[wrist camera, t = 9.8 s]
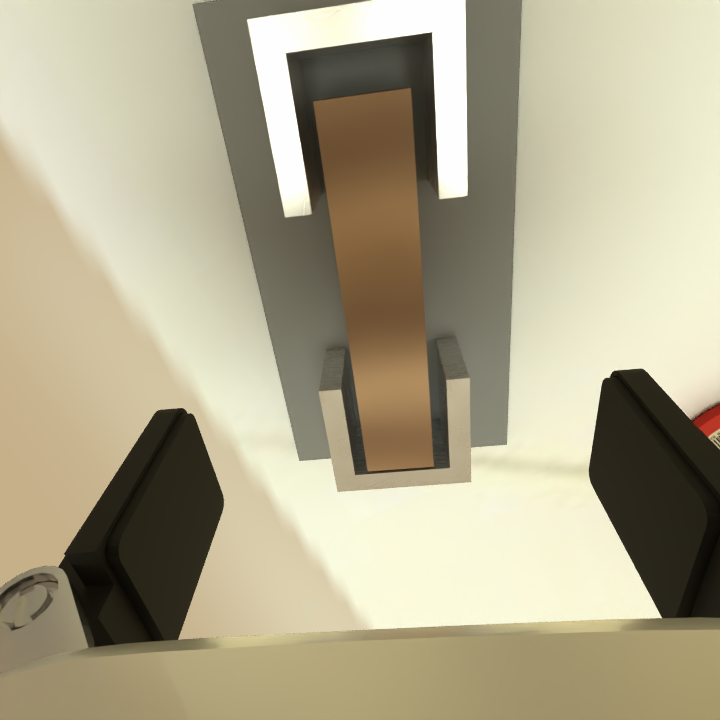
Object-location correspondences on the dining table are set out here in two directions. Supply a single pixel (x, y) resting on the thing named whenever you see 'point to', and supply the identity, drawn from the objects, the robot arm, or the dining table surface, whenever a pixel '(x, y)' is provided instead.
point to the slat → (380, 269)
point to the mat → (436, 216)
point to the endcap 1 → (351, 34)
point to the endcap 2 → (446, 431)
